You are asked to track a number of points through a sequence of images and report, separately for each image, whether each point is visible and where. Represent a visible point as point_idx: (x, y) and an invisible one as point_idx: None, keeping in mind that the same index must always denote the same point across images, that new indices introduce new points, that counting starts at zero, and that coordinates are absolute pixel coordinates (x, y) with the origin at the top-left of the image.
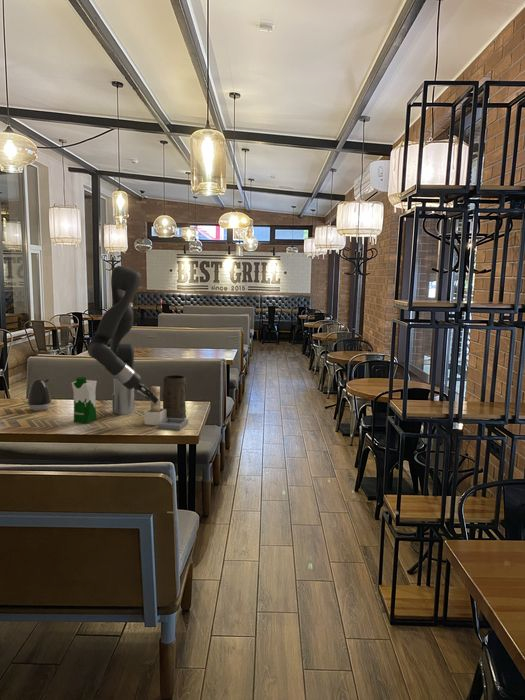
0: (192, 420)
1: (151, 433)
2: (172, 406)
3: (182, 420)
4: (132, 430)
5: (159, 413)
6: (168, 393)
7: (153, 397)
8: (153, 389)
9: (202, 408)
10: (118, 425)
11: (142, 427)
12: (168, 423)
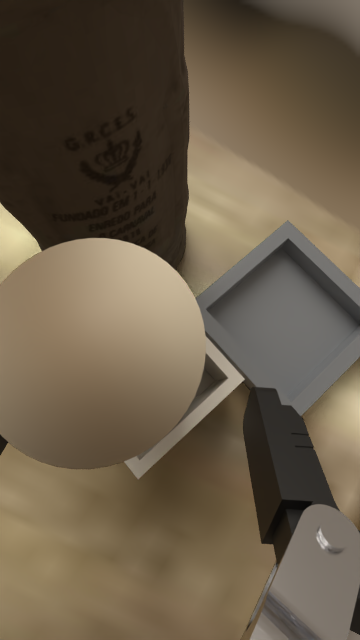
0: (212, 183)
1: (333, 489)
2: (162, 226)
3: (274, 251)
4: (214, 575)
5: (241, 380)
6: (108, 167)
7: (319, 486)
8: (170, 428)
9: None
10: (49, 620)
11: (186, 485)
12: (240, 329)
